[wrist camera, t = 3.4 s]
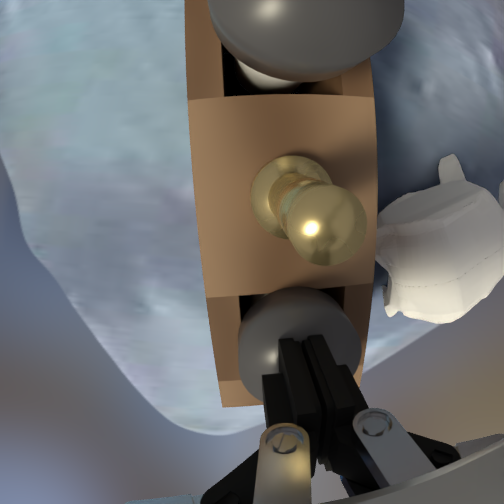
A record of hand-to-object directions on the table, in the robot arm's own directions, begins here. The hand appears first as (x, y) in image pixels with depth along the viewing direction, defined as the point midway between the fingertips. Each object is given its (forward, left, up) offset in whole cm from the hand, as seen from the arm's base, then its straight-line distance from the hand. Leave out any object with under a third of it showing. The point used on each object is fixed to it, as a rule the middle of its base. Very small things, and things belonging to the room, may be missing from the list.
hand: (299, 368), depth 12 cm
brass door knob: (0, -6, -2) cm, 7 cm away
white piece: (-13, -3, -10) cm, 17 cm away
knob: (0, -12, -6) cm, 14 cm away
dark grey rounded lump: (0, 0, -9) cm, 9 cm away
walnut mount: (0, -6, -10) cm, 12 cm away
